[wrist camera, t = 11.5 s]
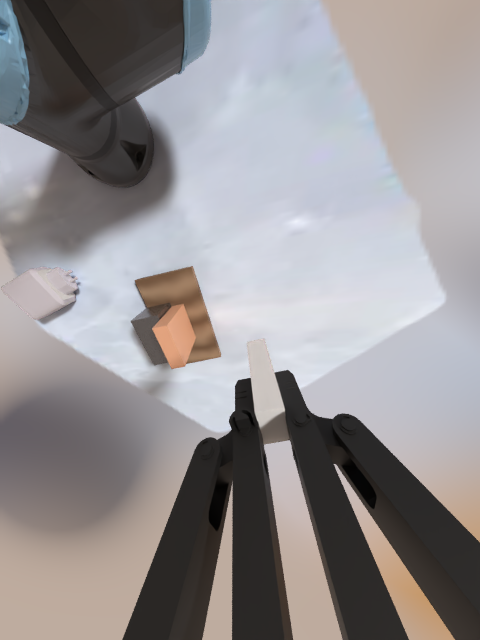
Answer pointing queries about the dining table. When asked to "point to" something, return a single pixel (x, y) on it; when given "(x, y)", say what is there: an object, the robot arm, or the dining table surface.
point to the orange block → (175, 336)
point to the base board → (184, 291)
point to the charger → (42, 291)
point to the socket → (151, 331)
